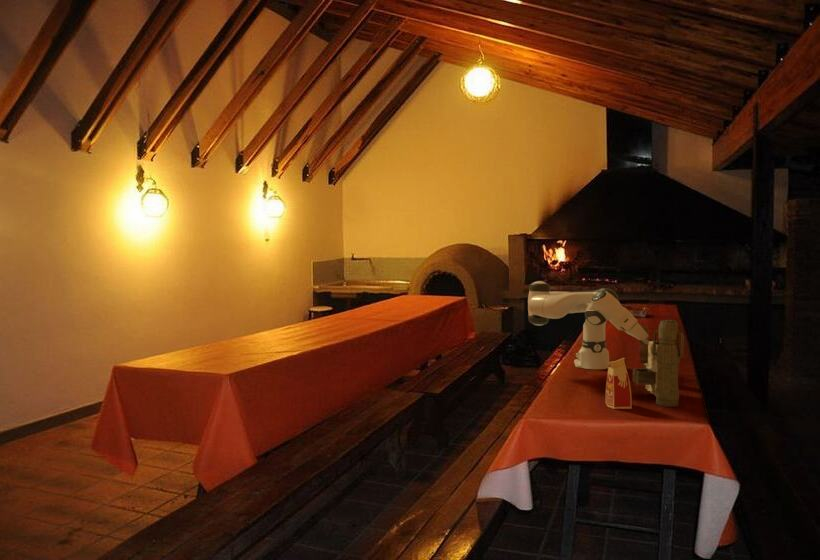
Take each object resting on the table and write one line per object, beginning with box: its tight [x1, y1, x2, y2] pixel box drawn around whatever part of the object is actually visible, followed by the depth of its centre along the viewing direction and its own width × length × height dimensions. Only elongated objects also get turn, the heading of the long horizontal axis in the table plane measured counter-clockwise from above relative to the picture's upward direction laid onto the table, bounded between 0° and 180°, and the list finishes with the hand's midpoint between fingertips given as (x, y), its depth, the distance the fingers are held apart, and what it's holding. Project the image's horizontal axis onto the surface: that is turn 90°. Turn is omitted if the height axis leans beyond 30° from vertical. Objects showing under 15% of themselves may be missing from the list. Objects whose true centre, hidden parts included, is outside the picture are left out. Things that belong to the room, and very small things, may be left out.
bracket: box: [632, 341, 658, 397], centre depth 280 cm, size 16×9×22 cm, turn 1°
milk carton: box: [605, 357, 633, 410], centre depth 263 cm, size 9×9×20 cm
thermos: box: [652, 318, 685, 408], centre depth 263 cm, size 9×12×35 cm
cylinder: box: [638, 325, 649, 364], centre depth 279 cm, size 4×4×16 cm
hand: (645, 342), depth 279 cm, fingers closed on cylinder, 4 cm apart
